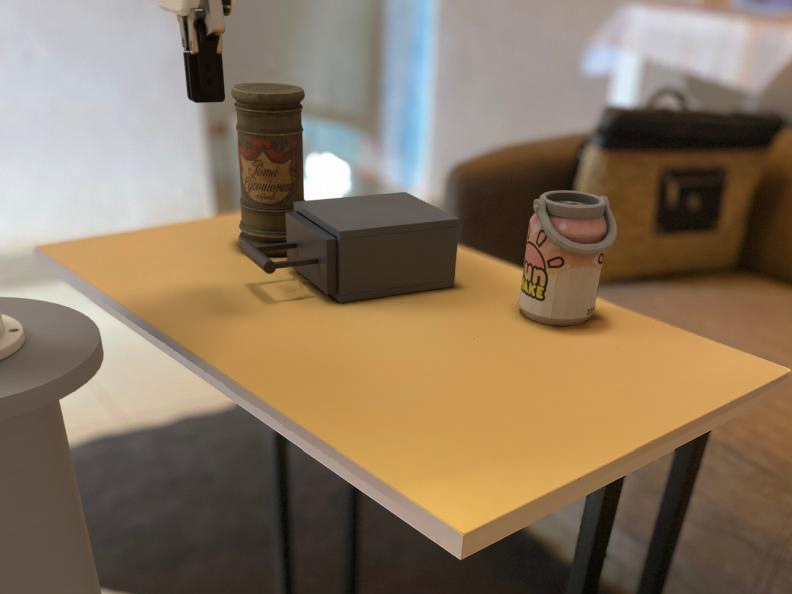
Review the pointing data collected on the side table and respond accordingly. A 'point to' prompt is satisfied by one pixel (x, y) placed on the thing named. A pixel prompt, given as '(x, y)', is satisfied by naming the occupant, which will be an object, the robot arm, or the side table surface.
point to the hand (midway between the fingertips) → (206, 100)
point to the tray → (302, 252)
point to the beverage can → (565, 256)
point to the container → (268, 159)
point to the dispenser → (387, 243)
